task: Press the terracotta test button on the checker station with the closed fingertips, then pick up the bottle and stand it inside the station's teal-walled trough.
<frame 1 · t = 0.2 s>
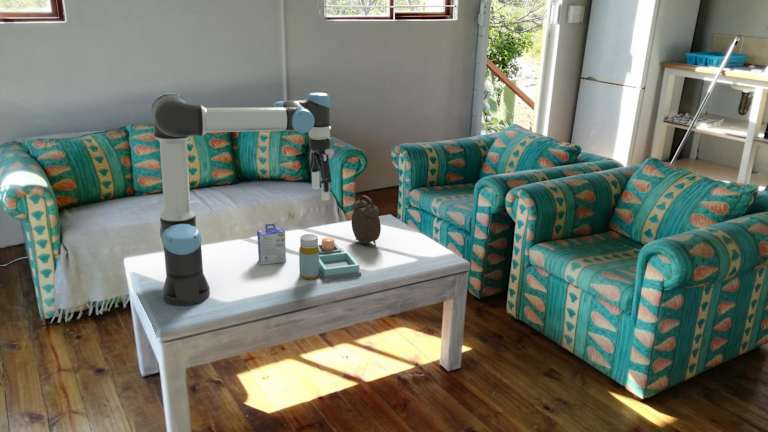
hand: (320, 194, 243), 27 cm above the table, fingers open, 13 cm apart
checker station: (333, 264, 250), on the table
bottle: (309, 276, 240), on the table
test button: (328, 246, 254), point 5 cm above the table, slide at -0.7 cm
ink cartridge box: (272, 261, 251), on the table
alarm clock: (366, 243, 271), on the table
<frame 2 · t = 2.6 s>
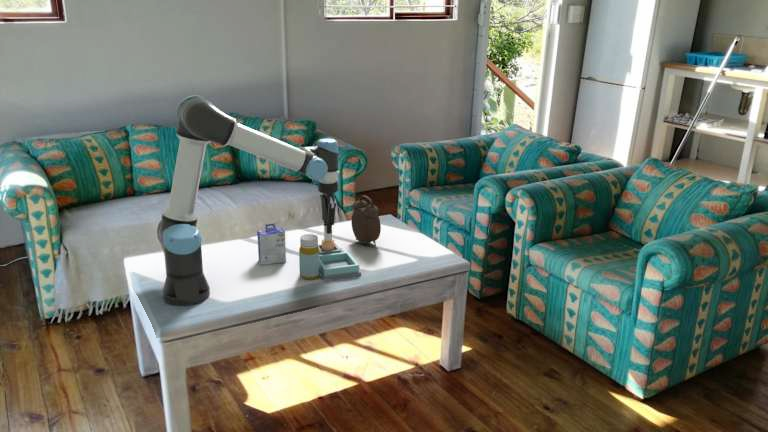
hand: (328, 240, 253), 7 cm above the table, fingers closed
test button: (328, 246, 254), point 4 cm above the table, slide at -1.0 cm, touching gripper
everything else where it was.
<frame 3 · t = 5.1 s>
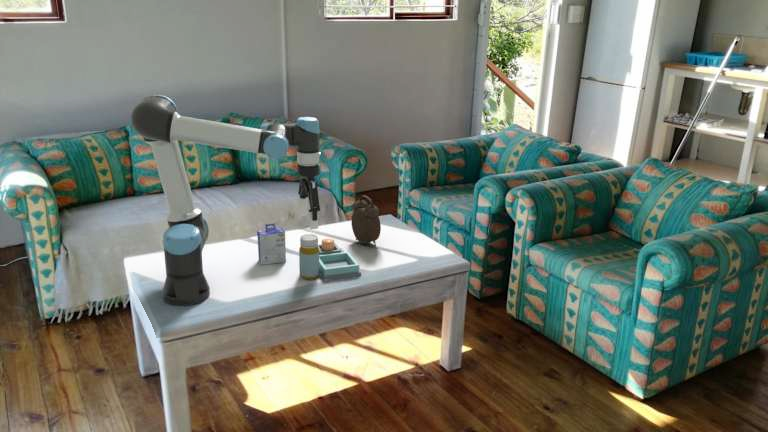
hand: (309, 222, 233), 21 cm above the table, fingers open, 13 cm apart
test button: (328, 247, 254), point 4 cm above the table, slide at -1.0 cm
everything else where it was.
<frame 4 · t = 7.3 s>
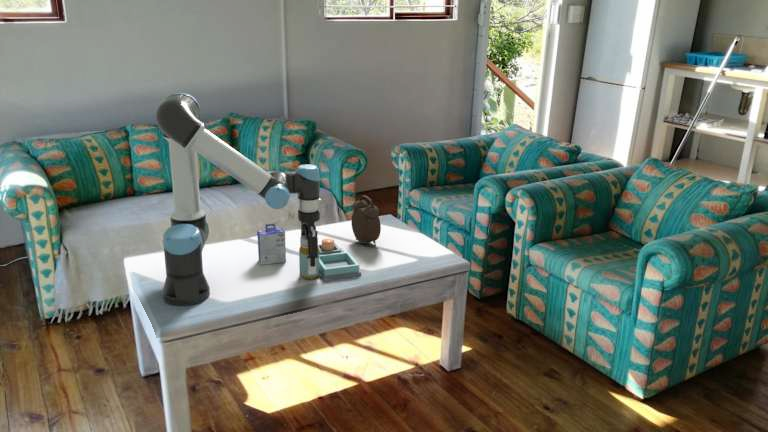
hand: (309, 269, 239), 3 cm above the table, fingers closed on bottle, 7 cm apart
bottle: (309, 276, 240), on the table, touching gripper
everything else where it was.
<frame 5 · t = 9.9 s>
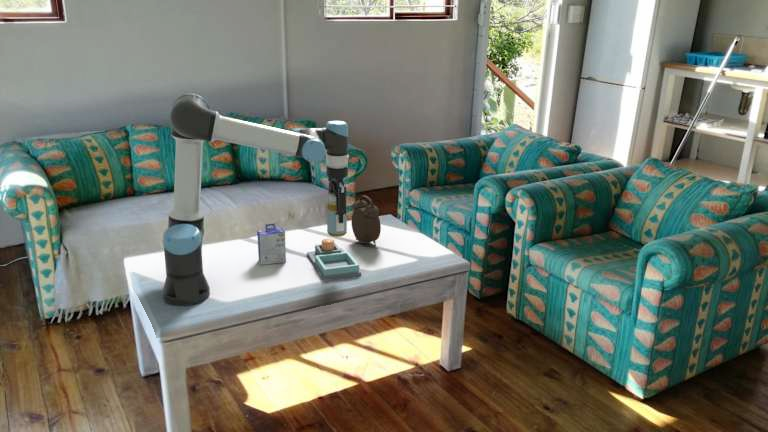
hand: (336, 227, 240), 17 cm above the table, fingers closed on bottle, 7 cm apart
bottle: (336, 234, 241), point 14 cm above the table, touching gripper
everything else where it was.
when the fingers open (5 cm above the table, at t = 12.3 s): bottle drops 1 cm, resting on checker station.
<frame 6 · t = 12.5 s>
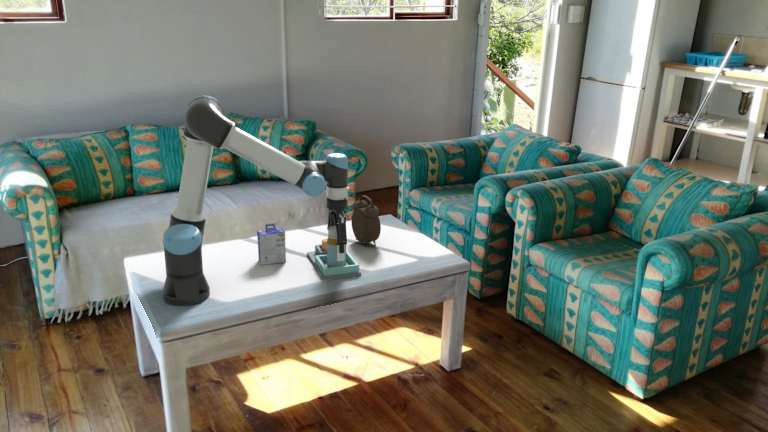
hand: (336, 255, 244), 6 cm above the table, fingers open, 9 cm apart
bottle: (336, 267, 245), point 1 cm above the table, touching checker station
everything else where it was.
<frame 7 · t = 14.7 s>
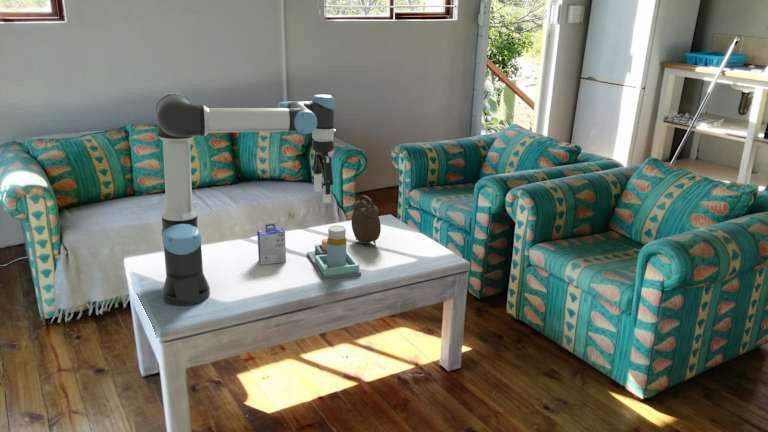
hand: (322, 196, 241), 26 cm above the table, fingers open, 13 cm apart
nothing on the table moved.
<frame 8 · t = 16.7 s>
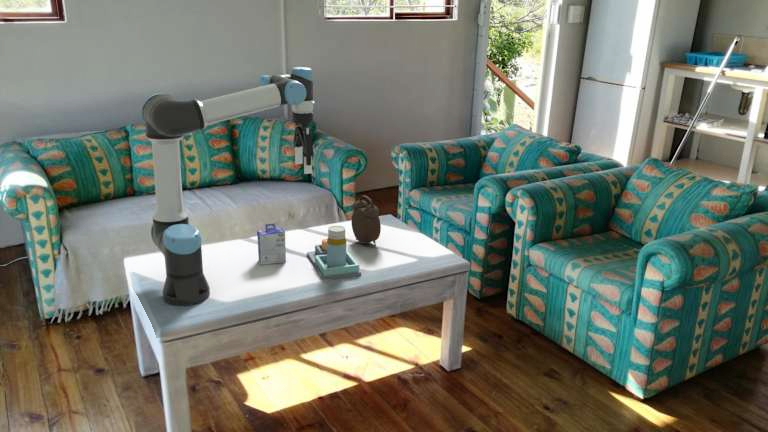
hand: (303, 168, 246), 35 cm above the table, fingers open, 13 cm apart
nothing on the table moved.
at the end: bottle inside the target area on the checker station (0.0 cm from its centre), point 1.0 cm above the checker station's base; bottle tilted 0°; the gripper is holding nothing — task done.
